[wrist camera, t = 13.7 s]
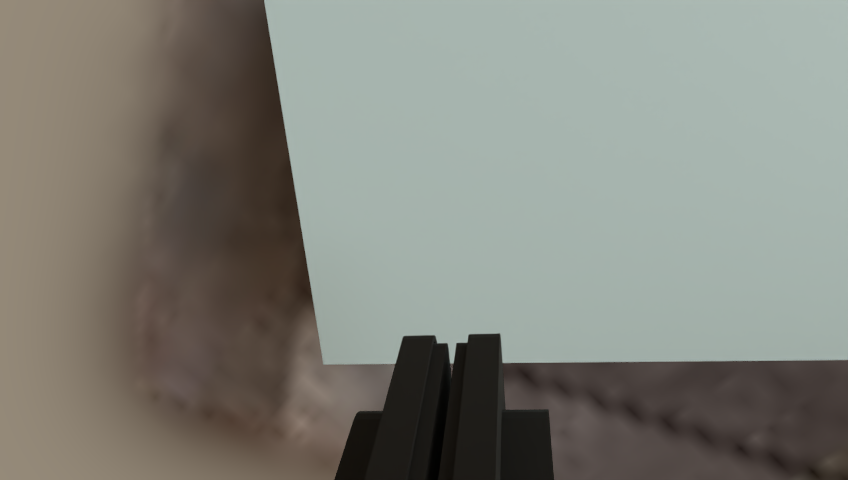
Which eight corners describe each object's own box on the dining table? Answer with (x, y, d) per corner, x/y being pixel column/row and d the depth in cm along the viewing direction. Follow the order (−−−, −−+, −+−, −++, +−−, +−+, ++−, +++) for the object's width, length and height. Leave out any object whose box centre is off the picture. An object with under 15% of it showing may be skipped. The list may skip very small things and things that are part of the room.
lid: (1124, -146, 16) (1169, -155, 15) (1022, 336, 20) (1052, 358, 19) (272, -47, 19) (256, -49, 18) (333, 345, 23) (323, 364, 22)
